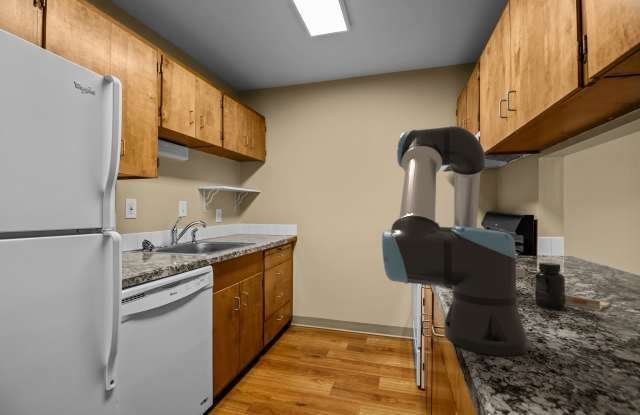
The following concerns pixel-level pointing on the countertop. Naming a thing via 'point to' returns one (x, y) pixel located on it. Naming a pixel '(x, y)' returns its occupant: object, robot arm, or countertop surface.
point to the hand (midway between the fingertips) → (514, 275)
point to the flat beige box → (586, 303)
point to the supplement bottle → (550, 287)
